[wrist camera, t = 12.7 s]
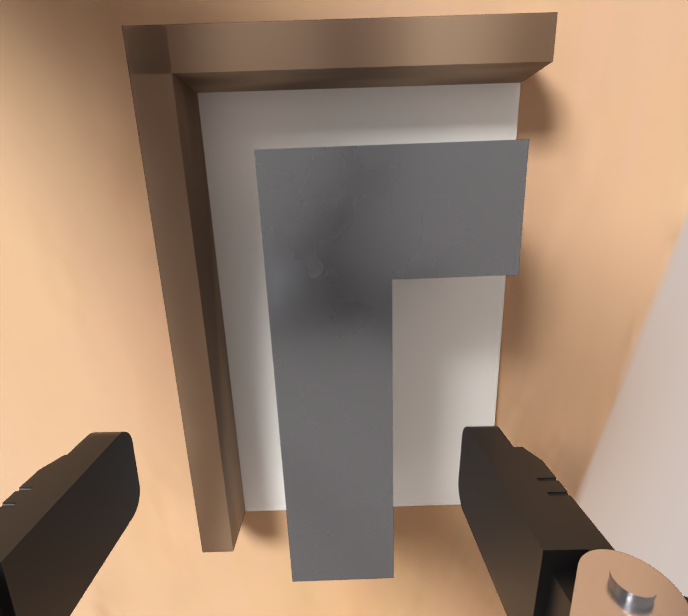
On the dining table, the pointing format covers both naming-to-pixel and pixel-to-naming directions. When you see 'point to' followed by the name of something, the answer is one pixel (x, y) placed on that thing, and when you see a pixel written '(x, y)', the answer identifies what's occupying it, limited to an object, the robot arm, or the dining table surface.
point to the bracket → (364, 315)
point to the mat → (407, 294)
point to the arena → (192, 186)
